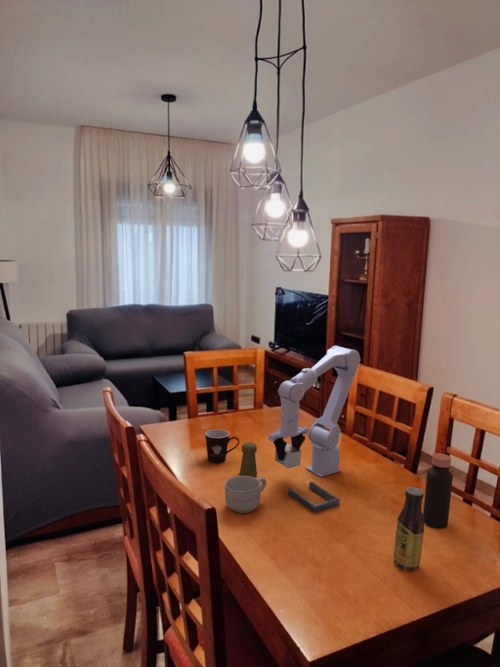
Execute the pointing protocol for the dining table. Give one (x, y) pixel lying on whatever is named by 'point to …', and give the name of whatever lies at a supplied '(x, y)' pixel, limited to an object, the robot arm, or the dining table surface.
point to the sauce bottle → (410, 532)
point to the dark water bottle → (438, 492)
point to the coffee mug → (218, 445)
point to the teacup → (243, 493)
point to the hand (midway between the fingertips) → (287, 457)
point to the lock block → (290, 457)
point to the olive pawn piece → (248, 460)
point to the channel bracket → (311, 506)
